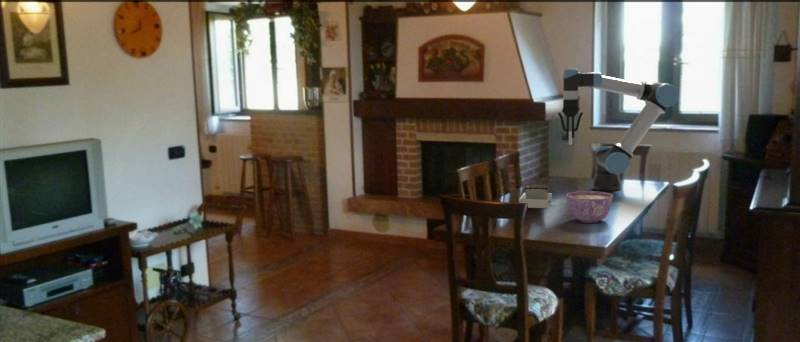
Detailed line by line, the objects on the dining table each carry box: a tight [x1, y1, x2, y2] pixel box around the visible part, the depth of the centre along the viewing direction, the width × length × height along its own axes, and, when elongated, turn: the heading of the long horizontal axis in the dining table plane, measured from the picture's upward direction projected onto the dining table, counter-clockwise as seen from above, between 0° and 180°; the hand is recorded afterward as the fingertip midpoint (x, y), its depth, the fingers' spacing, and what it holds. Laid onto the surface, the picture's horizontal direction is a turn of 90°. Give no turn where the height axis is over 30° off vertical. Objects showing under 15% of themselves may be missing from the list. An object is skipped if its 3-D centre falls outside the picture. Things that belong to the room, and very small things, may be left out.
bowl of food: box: [565, 190, 614, 224], centre depth 327 cm, size 20×20×12 cm
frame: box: [518, 192, 553, 209], centre depth 368 cm, size 14×18×4 cm
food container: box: [523, 183, 550, 200], centre depth 365 cm, size 12×6×10 cm, turn 74°
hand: (570, 144), depth 389 cm, fingers closed
